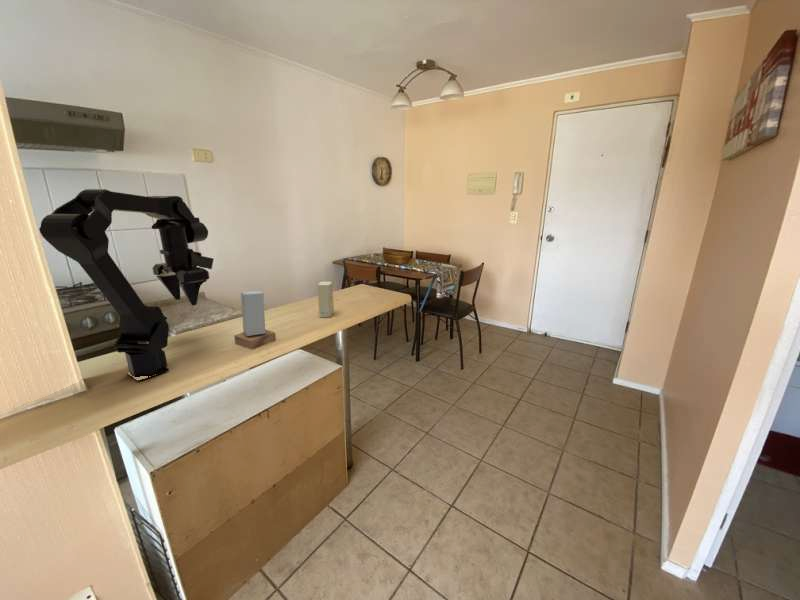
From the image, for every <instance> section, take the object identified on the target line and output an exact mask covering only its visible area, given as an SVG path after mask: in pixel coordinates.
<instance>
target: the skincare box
mask: <svg viewBox="0 0 800 600" xmlns="http://www.w3.org/2000/svg"><path fill="white" fill-rule="evenodd" d="M316 285H317V289H316V290H317V298H318V302H317V303H318V315H319V318H332V316H333V315H334V314H335V303H334V290H333V281H319V282H318V284H316Z"/></svg>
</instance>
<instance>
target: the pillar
mask: <svg viewBox="0 0 800 600" xmlns="http://www.w3.org/2000/svg"><path fill="white" fill-rule="evenodd" d="M264 296H265V295H264V292H262V291H260V290H250V291H241V292H240V297H241V298H240V300H241V313H242V316H241V317H242V330H243V332H244V333H245V334H246V335H247V336H251V335H258V334H265V330H266V318H265V314H266V313H265V297H264ZM243 332H242V333H243Z"/></svg>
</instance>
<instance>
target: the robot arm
mask: <svg viewBox="0 0 800 600" xmlns="http://www.w3.org/2000/svg"><path fill="white" fill-rule="evenodd" d="M114 211H115V212H116V211H118V212H128V213H139V214H145V215H146V216H148V217H150V218H154V219H156V221H155V222H154V223H153V224H152V225H151V229H152V230H158V231H159V236H160V243H161V246H162V249H159V253H160V255H163V257H164V262H161V263H155V264H154V266H153V267H152V273H153V275H155V276H156V278H157V279H158V280H159V281H160V282H161V283H162V285H163V286H164V287H165V289H166V290H167V291H168V292H169V294H170V295H171V296H172V297H173V298H174V299H175V300H176V301H179V300H181V291H183V293H184V295H185V297H186V299H187V300H188V302H189V303H190V305H191V306H192V307H193V306H196V305H197V303H198V298H199V293H200V288H201V286H202V285H203V284H204V283H206V282H207V281H208V280H209V279H210V273H209V271H208V270H213V266H214V265H213V263H214V259H215V258H212V257H207V256H203V255H202V252H199V251H194V250H193V249H192V248H189V244H193V243H199V242H203V241H205V240H206V239H207V238H208V236H209V230H208V228H207V226H206V225H205V224H204V222H201V221H200V218H199V217H195V216H194V213H193V212H192V211H191V209H190V208H189V207H188V205H187V203H185V201H184V200H183V198H182V197H181V196H179V195H150V196H149V195H147V196H144V195H139V194H138V195H137V194H131V193H124V192H117V191H111V190H108V189H105V188H104V189H103V188H102V189H101V188H100V189H98V188H96V189H95V188H93V189H92V188H91V189H90V188H86V189H83V190H81V191H80V192H79V193H78V194H77V195H76V196H75V197H74V198H72V199H71V200H69V201H68V202H66V203H64V204H62V205H60V206H58V207H57V208H56V209H55V210H54V211H52V212H51V214H46V215H45V216H44V217H43V218H42V220H41V222H40V227H39V228H38V230H39V233H40V234H41V237H42V238H43V239H44V240H45V241H46V242H48V243H49V244H50V246H52V247H53V248H54V249H55V250H57V252H58V253H61V254H63V255H65V256H66V257H67V258H70V259H71V260H73V261H76V262H77V263H78V265H80V267H81V268H82V269H83V271H84V272H85V273H86V274H87V276H88V277H89V278H90V279H91V281H92V282H93V283H94V285H95V286H96V287H97V288H98V289H99V290H100V292H101V293H102V295H103V296H104V297H105V298H106V299H107V301H108V303H109V304H110V305H111V307H113V309H114V310H115V311H116V312H117V314H118V315H119V317H118V318H119V319H118V327H119V329H120V334H119V335H118V337H117V339H116V341H115V342H114V346H113V348H114V349H115V350H116V352H117V353H124V354H125V358H126V364H127V368H128V372H130V374H131V375H132V376H134V377H140V376H148V377H149V376H153V375H155V374H159V373H162V372H165V373H167V372H166V371H168V370H170V369H169V368H168V361H167V356H166V352H165V350H163V349H164V348H166V347H167V346H168V343H169V342H168V339H169V331H170V330H169V323H168V321H167V320H168V317H166V316H165V315H164V313H163V311H162V309H161V308H160V307H159V306H154V305H153V306H152V305H150V306H149V305H145V304H144V302H143V300H141V298H140V296H139V295H138V294H137V292H136V290H134V288H133V286H132V285H131V284H130V282H129V280H128V279H127V278H126V277H125V275H124V274H123V272H122V271H121V270H120V268H119V266H118V265H117V264H116V262H115V261H114V259H113V258H112V256H111V255H110V253H109V243H110V242H109V241H110V239H109V237H108V234H107V233H106V231H107V230H108V228H109V227H110V225H112V222H113V220H112V219H113V215H112V214H113V212H114ZM207 269H208V270H207ZM168 372H169V371H168ZM162 374H163V373H162ZM159 375H160V374H159ZM153 377H154V376H153Z"/></svg>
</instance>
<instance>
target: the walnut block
mask: <svg viewBox="0 0 800 600" xmlns="http://www.w3.org/2000/svg"><path fill="white" fill-rule="evenodd" d="M233 337H234V344H236V345H239V346H242V347H243V348H246V347H247V349H249V348H250V350H255V349H257V348H260V347H263V346H265V345H267V343H268V344H270V343H272V341H273V342H275V341H276V340H277V339H276V332H275V331H271V330H269V329H265V334H258V335H251V336H247V335H246V334H245V333H244V332H240V333H237V334H234V336H233ZM274 340H275V341H274ZM269 342H270V343H269ZM262 345H263V346H262Z"/></svg>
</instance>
